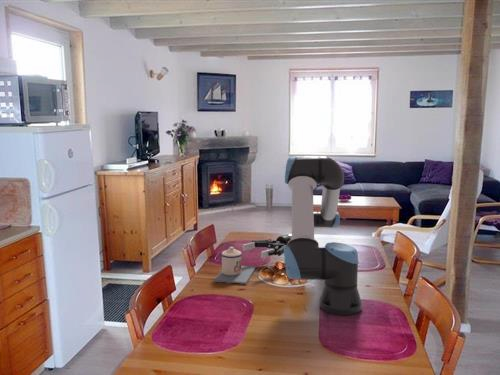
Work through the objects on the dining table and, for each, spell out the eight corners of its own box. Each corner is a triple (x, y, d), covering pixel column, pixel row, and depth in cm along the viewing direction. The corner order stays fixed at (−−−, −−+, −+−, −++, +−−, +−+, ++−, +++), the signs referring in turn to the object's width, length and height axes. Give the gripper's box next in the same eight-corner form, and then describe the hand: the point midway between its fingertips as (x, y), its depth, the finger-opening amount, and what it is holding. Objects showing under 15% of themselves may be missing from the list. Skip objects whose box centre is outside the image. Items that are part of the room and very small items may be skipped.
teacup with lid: (237, 277, 190) (237, 251, 188) (218, 274, 193) (217, 249, 191) (247, 268, 201) (247, 243, 199) (228, 266, 204) (228, 241, 202)
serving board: (246, 284, 184) (246, 282, 184) (214, 282, 187) (214, 280, 187) (255, 268, 203) (255, 266, 203) (226, 266, 206) (226, 264, 206)
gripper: (305, 256, 203) (270, 266, 190) (270, 244, 222) (236, 252, 210) (305, 240, 202) (270, 249, 189) (270, 229, 221) (236, 237, 208)
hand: (252, 251), depth 199 cm, fingers open, 13 cm apart
